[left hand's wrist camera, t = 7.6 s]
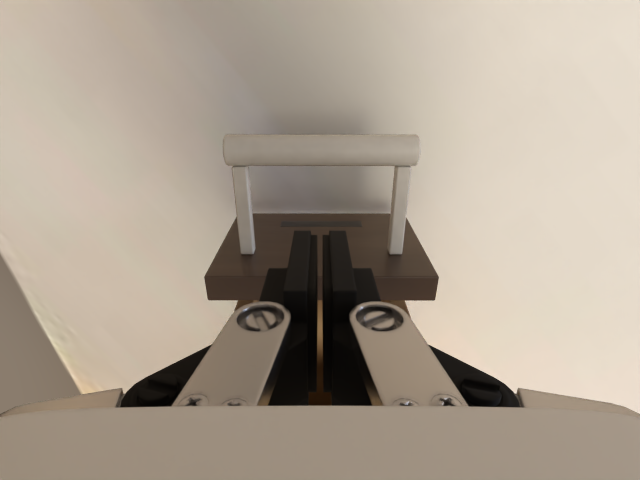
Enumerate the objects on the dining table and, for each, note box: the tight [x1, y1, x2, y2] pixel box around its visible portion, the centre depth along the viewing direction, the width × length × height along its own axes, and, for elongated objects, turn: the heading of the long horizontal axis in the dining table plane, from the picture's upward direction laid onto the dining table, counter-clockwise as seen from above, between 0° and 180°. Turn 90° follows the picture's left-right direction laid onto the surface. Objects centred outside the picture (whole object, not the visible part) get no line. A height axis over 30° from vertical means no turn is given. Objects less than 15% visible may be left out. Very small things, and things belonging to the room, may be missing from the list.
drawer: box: [204, 135, 439, 406], centre depth 21 cm, size 22×10×7 cm, turn 0°
